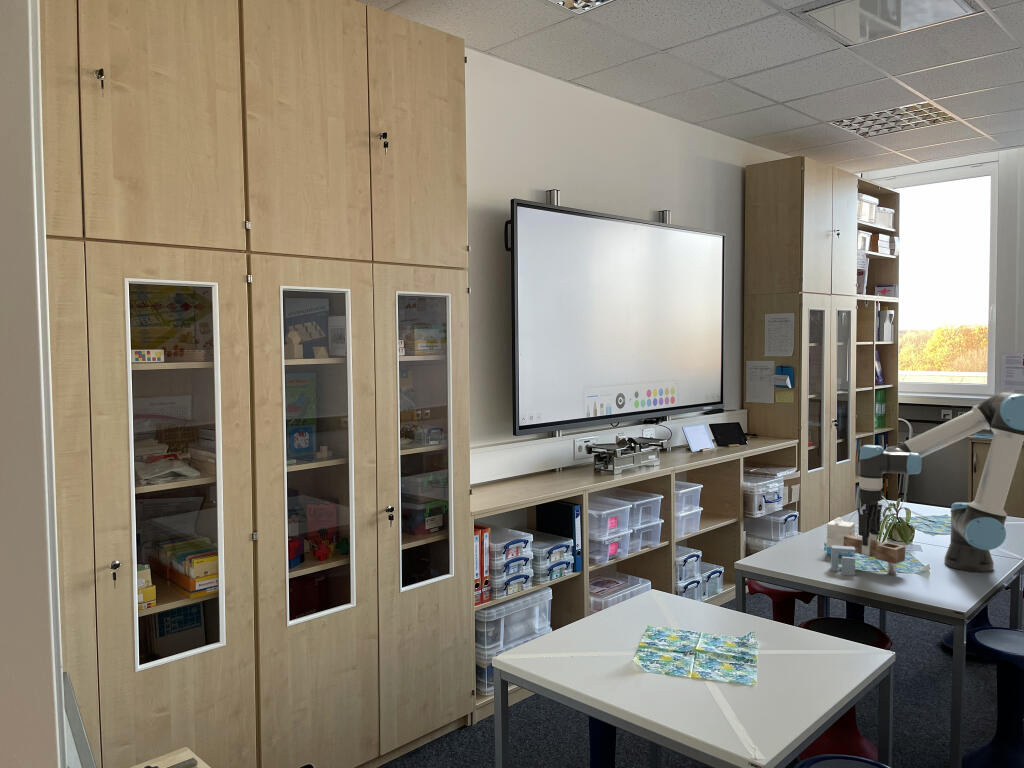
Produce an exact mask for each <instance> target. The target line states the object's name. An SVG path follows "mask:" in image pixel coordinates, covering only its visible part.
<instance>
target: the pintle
mask: <svg viewBox="0 0 1024 768" xmlns="http://www.w3.org/2000/svg"><path fill="white" fill-rule="evenodd" d="M897 564H898V563H897ZM897 564H894V563H889V562H887V574H888V575H889V576H897V567H898V566H897Z"/></svg>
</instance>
